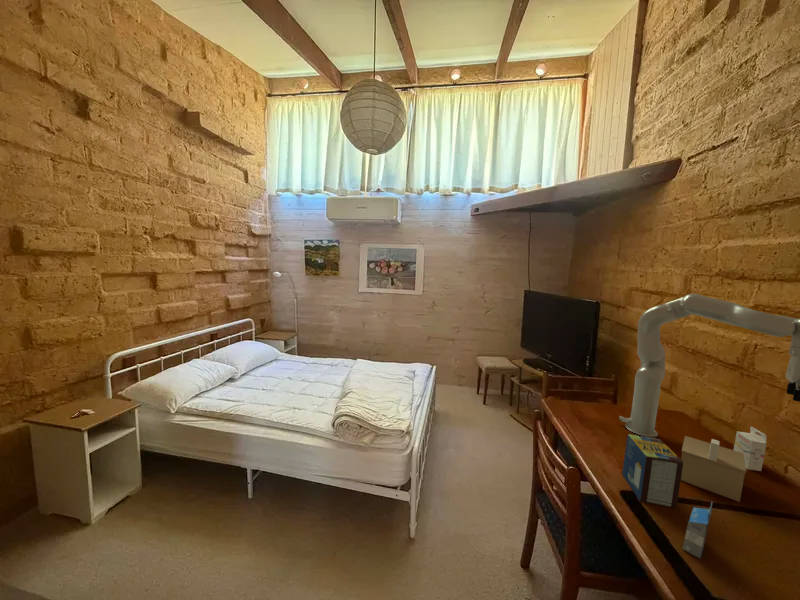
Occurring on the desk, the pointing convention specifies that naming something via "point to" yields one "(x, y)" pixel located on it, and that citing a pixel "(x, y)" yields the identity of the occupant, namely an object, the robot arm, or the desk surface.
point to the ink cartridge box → (751, 448)
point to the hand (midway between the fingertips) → (795, 397)
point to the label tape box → (697, 531)
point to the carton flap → (714, 453)
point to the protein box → (652, 470)
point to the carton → (712, 477)
